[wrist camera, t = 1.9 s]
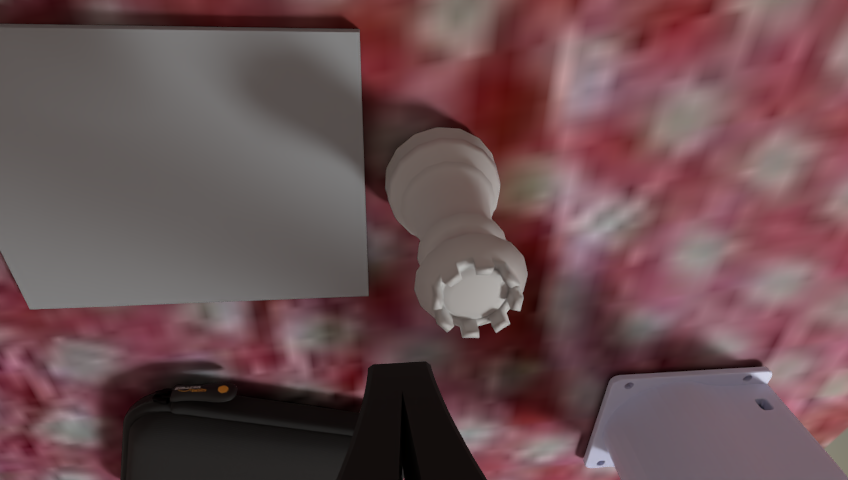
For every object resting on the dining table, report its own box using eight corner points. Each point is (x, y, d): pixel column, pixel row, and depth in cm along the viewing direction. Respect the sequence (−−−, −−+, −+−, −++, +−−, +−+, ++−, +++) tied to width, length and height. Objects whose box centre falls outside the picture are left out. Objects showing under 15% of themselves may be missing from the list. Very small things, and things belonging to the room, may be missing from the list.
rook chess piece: (372, 211, 21) (376, 351, 14) (401, 109, 19) (423, 216, 12) (472, 233, 22) (520, 372, 15) (511, 138, 20) (587, 252, 13)
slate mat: (359, 29, 17) (359, 32, 16) (368, 287, 23) (368, 295, 22) (-99, 22, 15) (-114, 26, 15) (37, 300, 21) (29, 309, 21)
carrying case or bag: (429, 394, 28) (139, 350, 24) (436, 443, 25) (112, 402, 21) (376, 503, 33) (130, 480, 29) (377, 552, 30) (108, 534, 27)
